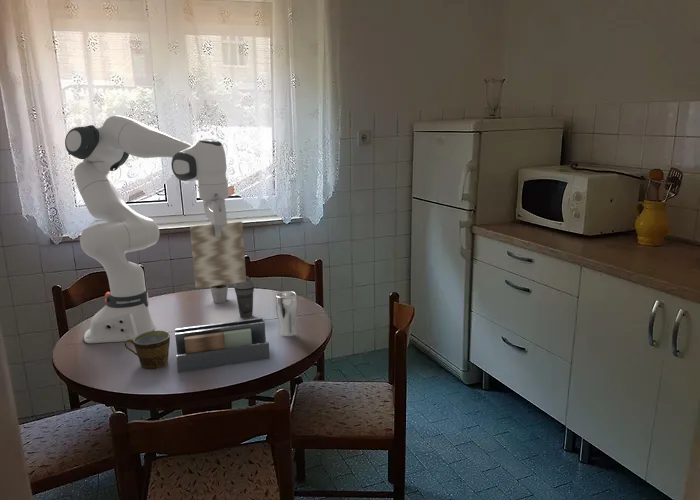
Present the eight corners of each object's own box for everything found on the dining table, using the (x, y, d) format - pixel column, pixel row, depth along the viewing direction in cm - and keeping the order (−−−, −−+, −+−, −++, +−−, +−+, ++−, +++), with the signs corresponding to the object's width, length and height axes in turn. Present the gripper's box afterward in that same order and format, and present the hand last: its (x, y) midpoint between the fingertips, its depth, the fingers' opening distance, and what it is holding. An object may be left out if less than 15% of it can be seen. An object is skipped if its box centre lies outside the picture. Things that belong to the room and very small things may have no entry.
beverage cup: (251, 320, 189) (248, 267, 184) (233, 319, 190) (229, 266, 186) (259, 313, 196) (255, 262, 191) (240, 312, 197) (237, 261, 192)
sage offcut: (222, 359, 155) (220, 334, 153) (221, 357, 157) (219, 332, 155) (252, 355, 157) (251, 330, 156) (251, 352, 159) (250, 328, 157)
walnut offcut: (187, 368, 149) (184, 339, 147) (187, 365, 151) (184, 337, 149) (226, 363, 153) (224, 334, 151) (225, 360, 155) (223, 331, 152)
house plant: (202, 309, 201) (198, 269, 197) (196, 299, 213) (192, 260, 209) (238, 303, 207) (235, 264, 203) (231, 293, 219) (228, 256, 215)
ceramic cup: (177, 360, 158) (174, 330, 156) (166, 376, 148) (163, 344, 146) (134, 361, 158) (130, 331, 156) (121, 377, 148) (116, 345, 146)
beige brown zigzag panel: (196, 288, 166) (190, 226, 161) (195, 286, 167) (189, 225, 162) (246, 281, 172) (242, 221, 167) (245, 280, 173) (241, 221, 168)
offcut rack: (178, 377, 148) (175, 343, 145) (178, 361, 158) (175, 328, 155) (270, 363, 155) (268, 330, 153) (264, 348, 166) (262, 317, 163)
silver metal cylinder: (300, 339, 172) (298, 296, 168) (279, 342, 170) (277, 298, 166) (296, 331, 178) (294, 290, 175) (276, 334, 176) (273, 292, 173)
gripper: (230, 195, 154) (233, 241, 157) (218, 188, 172) (221, 229, 176) (208, 197, 152) (212, 243, 155) (199, 189, 170) (202, 231, 173)
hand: (217, 235), depth 165 cm, fingers closed on beige brown zigzag panel, 1 cm apart
